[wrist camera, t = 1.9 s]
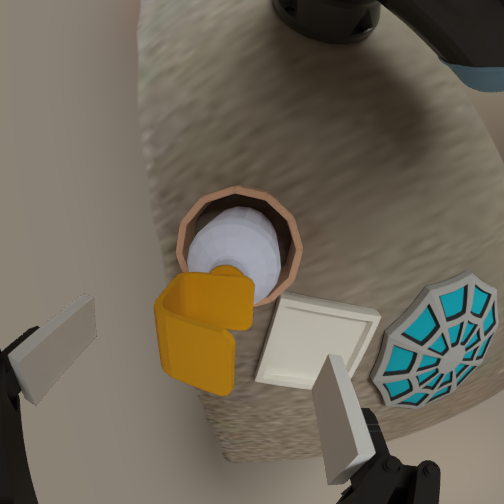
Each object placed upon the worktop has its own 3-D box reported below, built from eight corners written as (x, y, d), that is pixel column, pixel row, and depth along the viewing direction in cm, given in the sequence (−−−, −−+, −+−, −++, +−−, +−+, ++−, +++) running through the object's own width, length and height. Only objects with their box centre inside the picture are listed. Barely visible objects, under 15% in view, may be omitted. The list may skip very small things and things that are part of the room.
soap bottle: (273, 276, 36) (283, 429, 13) (206, 271, 37) (130, 407, 13) (279, 208, 34) (311, 287, 10) (207, 204, 34) (98, 268, 11)
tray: (280, 290, 37) (280, 298, 35) (375, 308, 37) (381, 316, 35) (255, 371, 41) (254, 381, 39) (340, 382, 41) (343, 392, 39)
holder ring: (198, 176, 33) (188, 176, 28) (308, 200, 33) (315, 204, 29) (181, 278, 37) (170, 292, 32) (281, 300, 37) (283, 318, 33)
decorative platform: (398, 265, 36) (414, 278, 31) (508, 270, 35) (523, 279, 30) (353, 411, 44) (359, 429, 39) (459, 391, 43) (467, 404, 38)
